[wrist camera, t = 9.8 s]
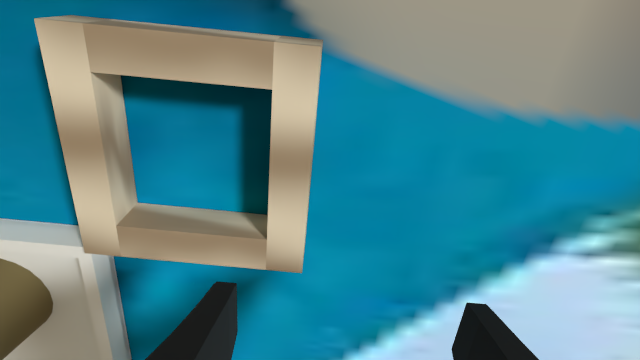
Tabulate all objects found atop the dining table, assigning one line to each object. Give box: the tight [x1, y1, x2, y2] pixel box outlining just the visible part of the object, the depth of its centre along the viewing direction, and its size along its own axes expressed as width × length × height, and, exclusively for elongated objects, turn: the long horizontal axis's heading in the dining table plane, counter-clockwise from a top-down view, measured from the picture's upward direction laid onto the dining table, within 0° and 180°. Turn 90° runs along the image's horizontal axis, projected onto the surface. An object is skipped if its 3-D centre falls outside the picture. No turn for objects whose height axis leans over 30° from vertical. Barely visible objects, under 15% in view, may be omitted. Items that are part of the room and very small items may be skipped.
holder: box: [34, 15, 323, 273], centre depth 20 cm, size 12×12×2 cm
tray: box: [0, 218, 132, 360], centre depth 26 cm, size 14×14×2 cm
